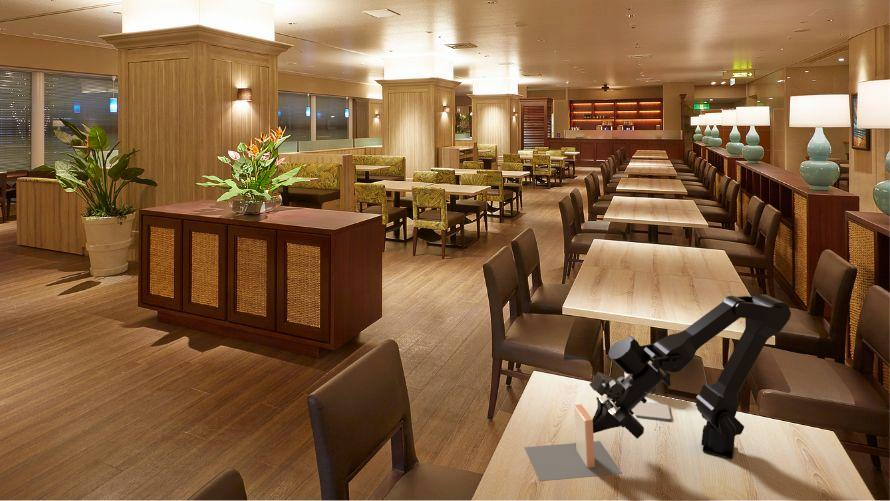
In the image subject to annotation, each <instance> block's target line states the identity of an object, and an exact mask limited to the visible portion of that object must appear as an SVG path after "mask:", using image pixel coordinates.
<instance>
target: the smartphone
mask: <svg viewBox="0 0 890 501" xmlns="http://www.w3.org/2000/svg"><path fill="white" fill-rule="evenodd" d="M615 403H616V402H615ZM619 408H620V407H619ZM632 411H633V412H634V414H633V416H634V417H635V418H636V419H637V418H640V419H647V420H654V421H655V420H656V421H664V422H671V421H672V415H671V410H670V405H669V404H664V403H655V402H648V401H647V402H646V403H645V404H644V403H643V402H642V401H641V402H640V403H638V404H637V405H636V406H635V407H634V408H633V409H632Z"/></svg>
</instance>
